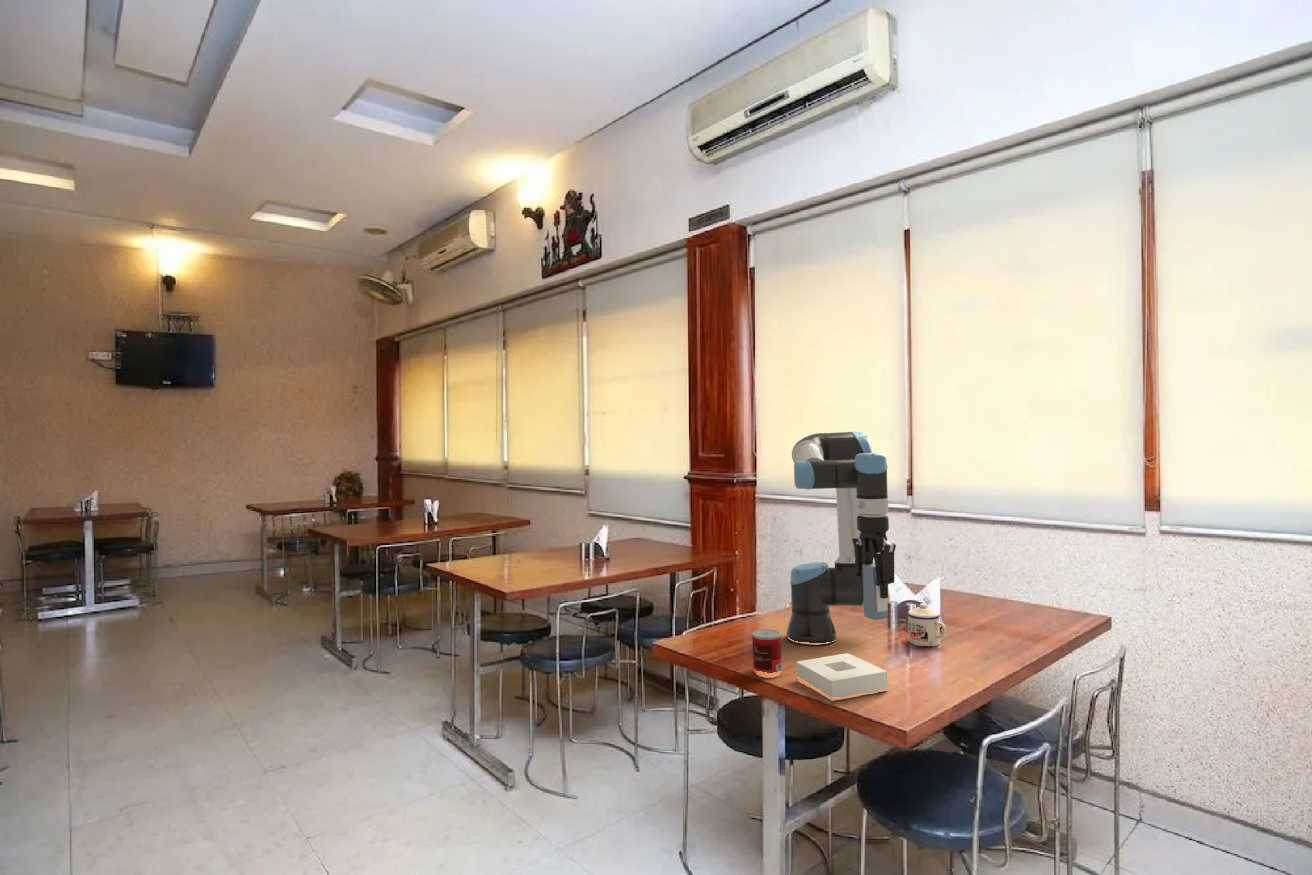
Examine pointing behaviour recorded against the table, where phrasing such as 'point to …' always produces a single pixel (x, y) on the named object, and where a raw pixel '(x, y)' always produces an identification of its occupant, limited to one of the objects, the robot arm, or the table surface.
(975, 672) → the table surface
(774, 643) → the canned food
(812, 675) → the socket block
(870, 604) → the peg
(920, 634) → the teacup with lid
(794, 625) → the robot arm
